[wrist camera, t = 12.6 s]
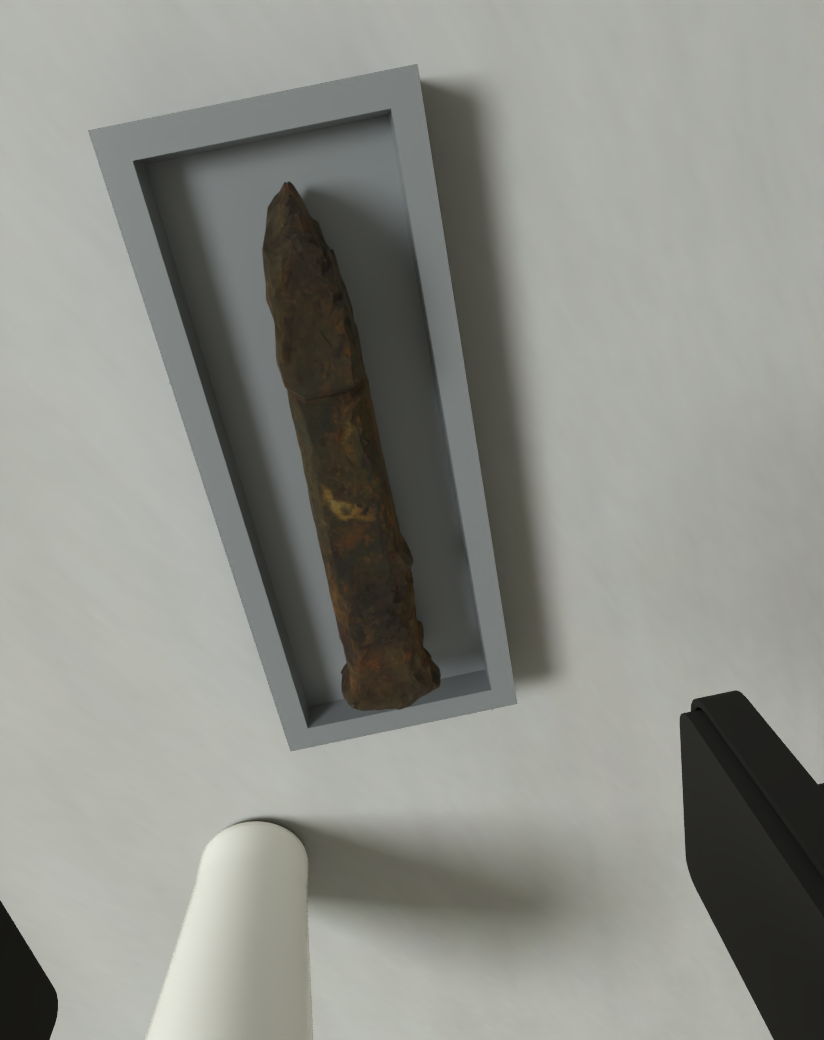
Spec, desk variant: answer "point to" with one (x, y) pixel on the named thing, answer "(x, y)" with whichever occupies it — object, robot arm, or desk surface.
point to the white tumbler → (242, 943)
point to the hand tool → (343, 464)
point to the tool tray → (263, 397)
